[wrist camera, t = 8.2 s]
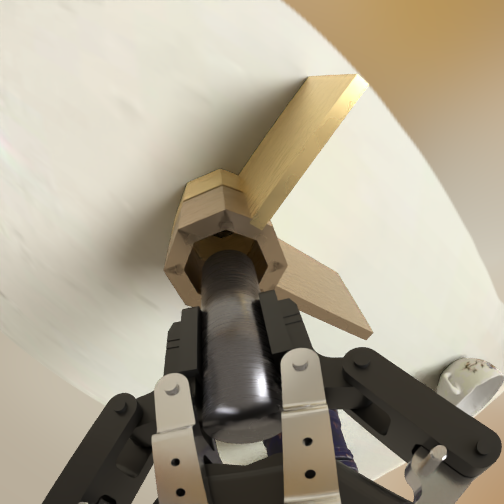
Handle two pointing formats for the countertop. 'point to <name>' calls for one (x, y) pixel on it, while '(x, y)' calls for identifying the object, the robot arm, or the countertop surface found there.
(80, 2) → the countertop surface
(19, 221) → the countertop surface
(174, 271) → the hinge
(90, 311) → the countertop surface
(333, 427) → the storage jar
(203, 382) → the hinge pin
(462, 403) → the teacup
